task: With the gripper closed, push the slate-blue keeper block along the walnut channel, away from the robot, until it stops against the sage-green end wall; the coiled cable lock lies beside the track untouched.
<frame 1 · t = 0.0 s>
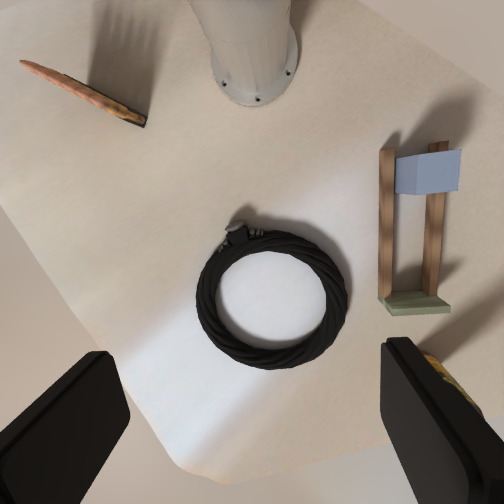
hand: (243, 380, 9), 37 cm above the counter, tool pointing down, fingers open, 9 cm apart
sauce bottle: (416, 361, 49), on the counter
track: (405, 224, 42), on the counter
keeper: (421, 173, 36), point 4 cm above the counter, slide at 0.0 cm
cable lock: (267, 294, 49), on the counter
ammunition clip: (117, 107, 42), on the counter
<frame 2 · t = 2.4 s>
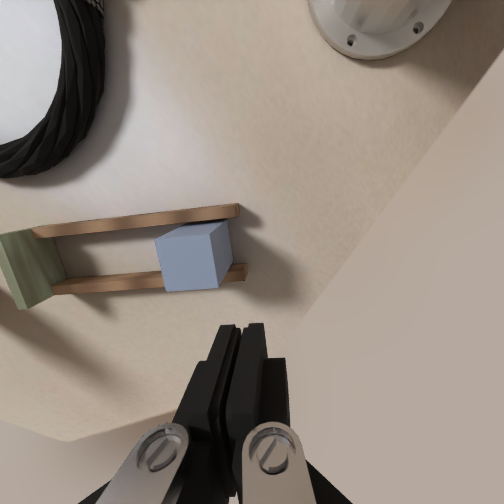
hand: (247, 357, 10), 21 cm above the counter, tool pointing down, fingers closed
track: (146, 248, 31), on the counter
keeper: (199, 251, 27), point 4 cm above the counter, slide at 0.0 cm
cable lock: (0, 38, 27), on the counter
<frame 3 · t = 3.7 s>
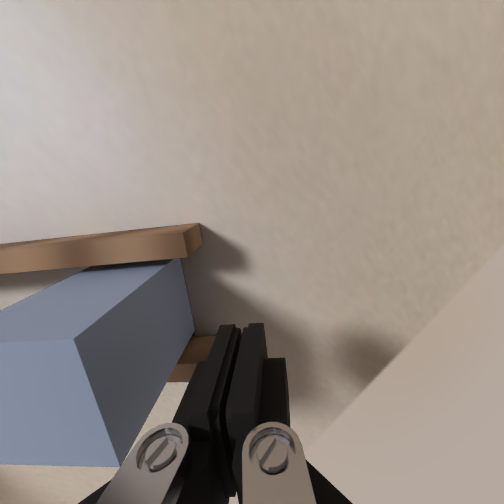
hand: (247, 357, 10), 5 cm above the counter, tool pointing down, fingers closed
track: (36, 304, 17), on the counter
keeper: (107, 334, 12), point 4 cm above the counter, slide at 0.0 cm
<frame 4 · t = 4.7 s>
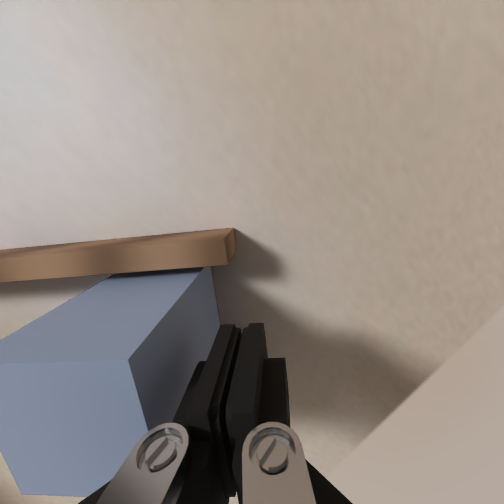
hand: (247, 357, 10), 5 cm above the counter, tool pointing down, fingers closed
track: (54, 311, 16), on the counter
keeper: (139, 347, 11), point 4 cm above the counter, slide at 0.1 cm, touching gripper
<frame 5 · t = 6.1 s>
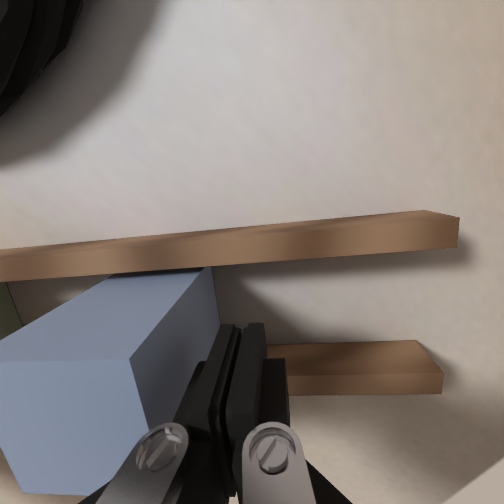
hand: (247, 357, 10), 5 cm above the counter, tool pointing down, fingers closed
track: (198, 303, 15), on the counter
keeper: (140, 347, 11), point 4 cm above the counter, slide at 9.4 cm, touching gripper
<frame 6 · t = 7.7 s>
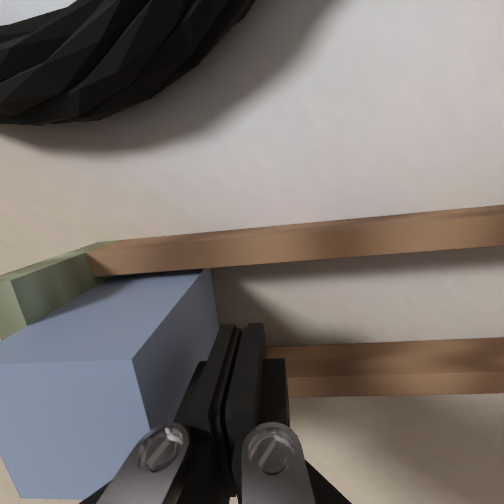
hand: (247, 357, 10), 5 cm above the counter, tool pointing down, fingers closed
track: (340, 296, 14), on the counter
keeper: (139, 349, 11), point 4 cm above the counter, slide at 17.5 cm, touching gripper, track
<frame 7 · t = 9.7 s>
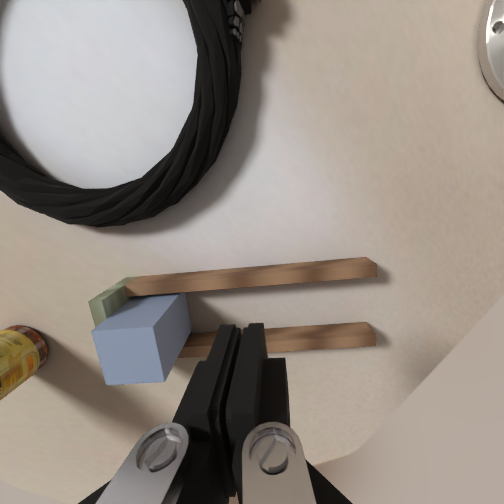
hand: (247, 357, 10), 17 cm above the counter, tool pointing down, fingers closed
sauce bottle: (28, 343, 30), on the counter
track: (251, 304, 27), on the counter
keeper: (150, 330, 24), point 4 cm above the counter, slide at 17.5 cm
cable lock: (105, 69, 23), on the counter
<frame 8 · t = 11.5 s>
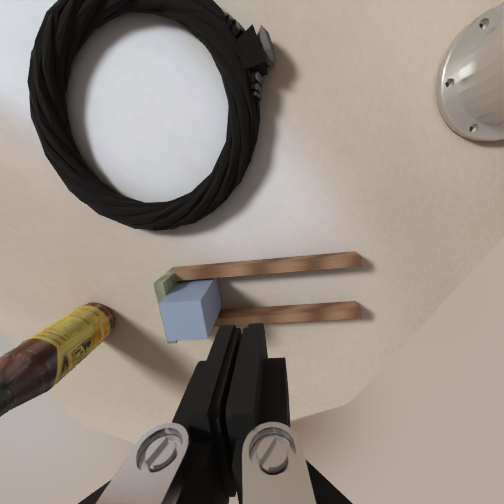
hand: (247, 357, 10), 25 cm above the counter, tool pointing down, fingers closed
sauce bottle: (99, 316, 40), on the counter
track: (267, 287, 36), on the counter
keeper: (194, 305, 34), point 4 cm above the counter, slide at 17.5 cm
cable lock: (159, 114, 32), on the counter
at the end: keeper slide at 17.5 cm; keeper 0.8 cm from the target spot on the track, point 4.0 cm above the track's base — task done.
